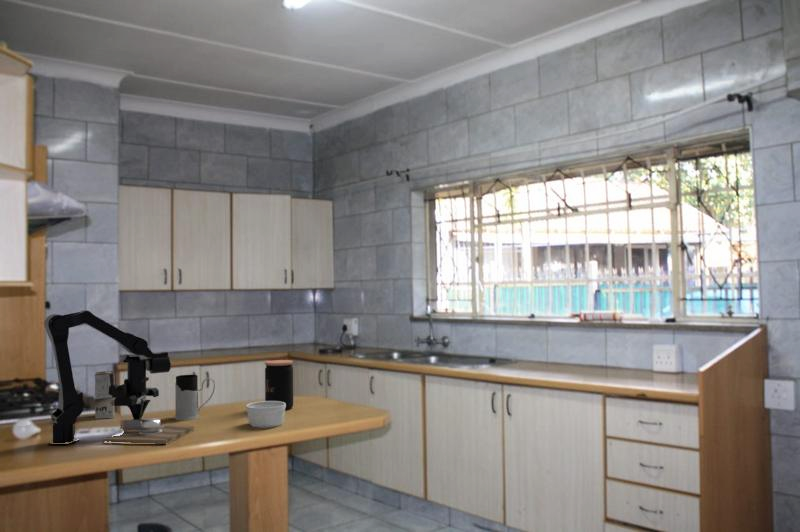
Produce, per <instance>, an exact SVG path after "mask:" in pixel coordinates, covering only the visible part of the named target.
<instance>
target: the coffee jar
mask: <svg viewBox="0 0 800 532" xmlns="http://www.w3.org/2000/svg"><path fill="white" fill-rule="evenodd" d="M293 364H294V360H291V359H275V360H267V361H265V362H264V365H265V368H264V399H265V400H264V401H280V402H284V403H286V408H285V411H289V410H291V409H293V407H294V367H293V366H292V365H293Z"/></svg>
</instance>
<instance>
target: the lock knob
mask: <svg viewBox="0 0 800 532" xmlns="http://www.w3.org/2000/svg"><path fill="white" fill-rule="evenodd" d="M161 425H162V423H161V418H159V417H153V418H152V417H150V418H143V419H142V418H141V419H133V418H132V419H131V418H130V419H129V418H126V419H125V418H122V419H121V420H120V430H121V429H123V430H122V431H124V430H140V432H143V433H151V432H157V431H160V430H161Z"/></svg>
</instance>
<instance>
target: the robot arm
mask: <svg viewBox="0 0 800 532" xmlns="http://www.w3.org/2000/svg"><path fill="white" fill-rule="evenodd" d="M44 319H45V320H44V322H43V325H44V328H45V332H46V335H47V336H48V340H50V343H51V345H52V350H53V356H54V362H55V366H56V373H57V374H56V375H57V379H58V385H59V394H58V407H57V408H56V409H55V410H53V411H54V412H52V413H51V414H50V417H51V420H52V422H53V423H52V441H53V443H65V442H71V441H73V439H74V435H75V436H76V422H77V419H78V418H79V416H80V415H82V414H83V411H84V406H86V403H85V402H84V393H83V392H82V391H80V390H77V388H76V387H75V381H74V376H73V370H72V363H71V356H70V351H69V345H68V342H69V341H68V340H69V335H70V334H69V333H70V329H71V328H75V327H78V326H81V325H86V326H88V327H89V328H92V329H94V330H96V331H97V332H99V333H101V334H103V335H105V336H107V337H108V338H110V339H111V340H113V341H115V342H116V343H118V345H119V346H120V347H121V348H122V349H124V350H125V351H126V352H128V353H130V354H132V356H130V355H129V354H125V355H124V356H123V357H122V358H121V359H120V362H121V363H123V364H124V363H125V364H126V363H127V364H126V365H127V366H126V367H127V368H126V369H127V372H126V374H127V377H126V378H125V379H124V380H123V384H119V385H118V384H116V383H115V384H114V385H111V386H109V392H108V394H109V395H111V396H112V398H115V399H114V406H115V407H128V408H129V411H130V413H131V415H132V419H142V418H143V416H144V414H145V411H146V409H147V407H148V405H149V403H150V402H151V399H147V397H153V398H157V397H159V395H160V391H159V389H158V388H157V387H147V381H149V379H150V377H148V376H147V371H148V372H149V373H150V374H151V375H152V374H161V373H163V374H164V373H169V372H171V371H170V370H171V366H172V364H171V361H170V357H169V353H168V351H161V352H155V353H154V352H153V351H152V350H151V349H150V347H148V346H149V344H148V341H147V340H146V338H144V337H142V336H138V335H135V334H132V333H130V332H126V331H124V330H122V328H121V329H120V328H119V327H117V326H115V325H113V324H111V323H110V322H108V321H107V320H105V319H103V318H101V317H99V316H97V315H96V314H95V313H94V312H92V311H90V310H85V309H84V310H81V311H77V312H73V313H68V314H58V313H57V314H56V313H55V314H51V315H50V314H49V315H48V316H47V317H46V318H44ZM133 355H135V356H133ZM140 356H142V357H143V358H141V357H140Z"/></svg>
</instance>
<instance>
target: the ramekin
mask: <svg viewBox="0 0 800 532" xmlns="http://www.w3.org/2000/svg"><path fill="white" fill-rule="evenodd" d="M245 408H246V411H247V419H248V423H249V425H250V426H251V427H253V428H261V429H266V428H275V427H276V428H277V427H279V426H281V425H282V424H283V423H284V420H285V413H286V410H285V408H286V403H284V402H280V401H265V400H262V401H254V402H250V403H248V404H246V407H245Z"/></svg>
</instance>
